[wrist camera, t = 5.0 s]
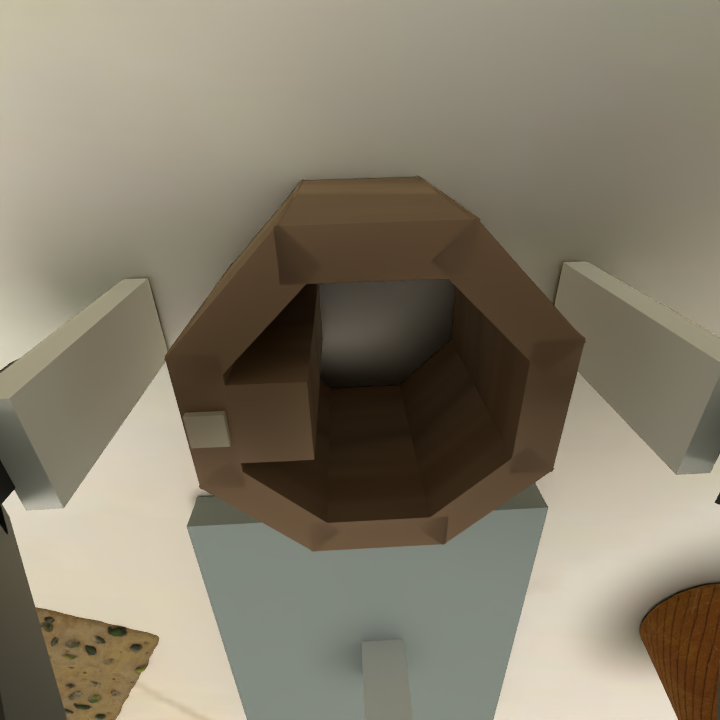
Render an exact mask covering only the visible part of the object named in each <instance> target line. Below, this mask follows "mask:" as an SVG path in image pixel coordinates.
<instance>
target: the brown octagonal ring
mask: <svg viewBox="0 0 720 720" xmlns="http://www.w3.org/2000/svg"><path fill="white" fill-rule="evenodd" d="M424 279H449V280H450V281H451V282H452V283H453V284H454V285H455V286H456V289H455V301H454V313H453V324H452V336H451V340H450V341H449V342H448V343H447V344H446V345H445V346H444V347H442V348H441V349H440V350H439V351H438V352H437V353H436V354H434V355H433V356H432V357H431V358H430V359H429V360H428V361H426V362H425V363H424V364H423V365H422V366H421V367H420V368H419V369H417V370H416V371H415V372H414V373H413V374H412V375H411V376H409V377H408V378H407V379H406V380H405V381H404V382H403V383H401V384H400V385H396V386H374V387H351V388H329V387H328V386H327V385H325V384H324V383H323V382H321V381H320V370H321V355H322V341H323V337H322V323H321V310H320V296H319V283H344V282H371V281H397V280H424ZM585 339H586V338H585V337H583V336H582V335H581V334H580V333H579V332H578V331H577V330H576V329H575V328H574V327H573V326H572V325H571V324H570V323H569V322H568V321H567V319H566V318H565V317H564V316H563V315H562V314H561V313H560V312H559V310H558V309H557V308H556V307H555V306H554V305H553V304H552V303H551V301H550V300H549V299H548V298H547V297H546V296H545V295H544V294H543V292H542V291H541V290H540V289H539V288H538V287H537V286H536V285H535V283H534V282H533V281H532V280H531V279H530V278H529V277H528V276H527V274H526V273H525V272H524V271H523V270H522V269H521V268H520V267H519V265H518V264H517V263H516V262H515V261H514V260H513V259H512V258H511V256H510V255H509V254H508V253H507V252H506V251H505V250H504V249H503V247H502V246H501V245H500V244H499V243H498V242H497V241H496V240H495V238H494V237H493V236H492V235H491V234H490V233H489V232H488V231H487V229H486V228H485V227H484V226H483V225H482V224H481V223H480V219H479V218H478V217H476V216H475V215H473V214H472V213H471V212H469V211H468V210H466V209H465V208H464V207H462V206H461V205H459V204H458V203H456V202H455V201H454V200H452V199H451V198H449V197H448V196H447V195H445V194H444V193H442V192H441V191H439V190H438V189H437V188H435V187H434V186H432V185H431V184H430V183H428V182H427V181H425V180H424V179H423V178H421V177H419V176H417V177H396V178H364V179H332V180H300V182H299V184H298V185H297V187H296V188H295V189H294V191H293V192H292V193H291V194H290V196H289V197H288V198H287V199H286V200H285V202H284V203H283V204H282V205H281V206H280V208H279V209H278V210H277V211H276V212H275V214H274V215H273V216H272V217H271V218H270V220H269V221H268V222H267V223H266V225H265V226H264V227H263V228H262V229H261V231H260V232H259V233H258V234H257V235H256V237H255V238H254V239H253V240H252V241H251V243H250V244H249V245H248V246H247V247H246V249H245V250H244V251H243V252H242V254H241V255H240V256H239V257H238V258H237V260H236V261H235V262H234V263H232V264H231V265H230V267H229V268H228V270H227V271H226V272H225V274H224V275H223V276H222V278H221V279H220V281H219V282H218V283H217V285H216V286H215V287H214V289H213V290H212V292H211V293H210V294H209V296H208V297H207V298H206V300H205V301H204V303H203V304H202V305H201V307H200V308H199V309H198V311H197V312H196V314H195V315H194V316H193V318H192V319H191V320H190V322H189V323H188V325H187V326H186V327H185V329H184V330H183V331H182V333H181V334H180V336H179V337H178V338H177V340H176V341H175V342H174V344H173V345H172V347H171V348H170V349H169V351H168V352H167V353H166V355H165V359H164V360H165V361H166V364H167V367H168V371H169V375H170V378H171V382H172V386H173V389H174V393H175V397H176V400H177V404H178V408H179V411H180V415H181V418H182V422H183V426H184V429H185V433H186V437H187V440H188V444H189V448H190V451H191V455H192V459H193V462H194V466H195V470H196V473H197V477H198V481H199V484H200V485H199V487H200V488H201V489H203V490H205V491H207V492H209V493H210V494H212V495H214V496H216V497H218V498H219V499H221V500H223V501H225V502H226V503H228V504H230V505H232V506H233V507H235V508H237V509H239V510H241V511H242V512H244V513H246V514H248V515H249V516H251V517H253V518H255V519H257V520H258V521H260V522H262V523H264V524H265V525H267V526H269V527H271V528H272V529H274V530H276V531H278V532H280V533H281V534H283V535H285V536H287V537H288V538H290V539H292V540H294V541H296V542H297V543H299V544H301V545H303V546H304V547H306V548H308V549H310V550H311V552H312V551H313V552H315V551H330V550H348V549H366V548H385V547H403V546H421V545H439V544H442V545H444V544H446V543H447V542H448V541H449V540H451V539H452V538H454V537H455V536H457V535H458V534H460V533H461V532H463V531H464V530H466V529H467V528H469V527H470V526H471V525H473V524H474V523H476V522H477V521H479V520H480V519H482V518H483V517H485V516H486V515H488V514H489V513H490V512H492V511H493V510H495V509H496V508H498V507H499V506H501V505H502V504H504V503H505V502H507V501H508V500H510V499H511V498H512V497H514V496H515V495H517V494H518V493H520V492H521V491H523V490H524V489H526V488H527V487H529V486H530V485H531V484H533V483H534V482H536V481H537V480H539V479H540V478H542V477H543V476H545V475H546V474H548V473H549V472H552V471H553V469H554V468H553V467H554V463H555V459H556V455H557V451H558V447H559V443H560V439H561V435H562V431H563V427H564V423H565V419H566V415H567V411H568V407H569V403H570V399H571V395H572V391H573V387H574V383H575V379H576V375H577V371H578V367H579V363H580V359H581V355H582V351H583V347H584V343H585V342H586V341H585Z"/></svg>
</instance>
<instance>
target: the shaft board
mask: <svg viewBox="0 0 720 720" xmlns="http://www.w3.org/2000/svg"><path fill="white" fill-rule="evenodd" d="M547 510H548V506H547V504H546V503H545V501H544V499H543V497H542V495H541V493H540V491H539V490H538V488H537V486H536V484H535V482H534V483H533V484H531V485H530V486H529V487H527V488H526V489H524V490H523V491H521V492H520V493H518V494H517V495H515V496H514V497H512V498H511V499H510V500H508V501H507V502H505V503H504V504H502V505H501V506H499V507H498V508H496V509H495V510H493V511H492V512H490V513H489V514H488V515H486V516H485V517H483V518H482V519H480V520H479V521H477V522H476V523H474V524H473V525H471V526H470V527H469V528H467V529H466V530H464V531H463V532H461V533H460V534H458V535H457V536H455V537H454V538H452V539H451V540H449V541H448V542H447V543H446V544H444V545H442V544H439V545H421V546H403V547H385V548H366V549H348V550H330V551H315V552H313V551H312V552H311V550H310V549H308V548H306V547H304V546H303V545H301V544H299V543H297V542H296V541H294V540H292V539H290V538H288V537H287V536H285V535H283V534H281V533H280V532H278V531H276V530H274V529H272V528H271V527H269V526H267V525H265V524H264V523H262V522H260V521H258V520H257V519H255V518H253V517H251V516H249V515H248V514H246V513H244V512H242V511H241V510H239V509H237V508H235V507H233V506H232V505H230V504H228V503H226V502H225V501H223V500H221V499H219V498H218V497H216V496H207V497H198V498H197V500H196V503H195V506H194V508H193V511H192V514H191V517H190V519H189V522H188V525H187V529H188V532H189V535H190V539H191V542H192V545H193V548H194V551H195V555H196V558H197V561H198V564H199V567H200V571H201V574H202V577H203V580H204V583H205V587H206V590H207V593H208V596H209V599H210V603H211V606H212V609H213V612H214V615H215V619H216V622H217V625H218V628H219V631H220V635H221V638H222V641H223V644H224V647H225V651H226V654H227V657H228V660H229V663H230V667H231V670H232V673H233V676H234V679H235V683H236V686H237V689H238V692H239V695H240V699H241V702H242V705H243V708H244V711H245V715H246V718H247V720H493V719H494V715H495V711H496V707H497V703H498V700H499V696H500V692H501V688H502V684H503V680H504V676H505V673H506V669H507V665H508V661H509V657H510V653H511V649H512V645H513V642H514V638H515V634H516V630H517V626H518V622H519V618H520V615H521V611H522V607H523V603H524V599H525V595H526V591H527V588H528V584H529V580H530V576H531V572H532V568H533V564H534V560H535V557H536V553H537V549H538V545H539V541H540V537H541V533H542V530H543V526H544V522H545V518H546V514H547Z"/></svg>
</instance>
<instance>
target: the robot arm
mask: <svg viewBox="0 0 720 720" xmlns="http://www.w3.org/2000/svg"><path fill="white" fill-rule="evenodd" d="M554 306H555V307H556V308H557V309H558V310H559V312H560V313H561V314H562V315H563V316H564V317H565V318H566V319H567V321H568V322H569V323H570V324H571V325H572V326H573V327H574V328H575V329H576V330H577V331H578V332H579V333H580V334H581V335H582V336H583V337H585V338H586V339H585V341H586V342H585V343H584V347H583V351H582V355H581V359H580V363H579V367H578V372H579V373H580V374H581V375H582V376H583V377H584V378H585V379H586V381H587V382H588V383H589V384H590V385H591V386H592V387H593V388H594V389H595V390H596V391H597V392H598V393H599V394H600V395H601V396H602V397H603V398H604V399H605V400H606V402H607V403H608V404H609V405H610V406H611V407H612V408H613V409H614V410H615V411H616V412H617V413H618V414H619V415H620V416H621V417H622V418H623V419H624V420H625V421H626V422H627V424H628V425H629V426H630V427H631V428H632V429H633V430H634V431H635V432H636V433H637V434H638V435H639V436H640V437H641V438H642V439H643V440H644V441H645V442H646V443H647V445H648V446H649V447H650V448H651V449H652V450H653V451H654V452H655V453H656V454H657V455H658V456H659V457H660V458H661V459H662V460H663V461H664V462H665V463H666V464H667V466H668V467H669V468H670V469H671V470H672V471H673V472H674V473H675V474H676V475H679V474H697V473H710V472H711V470H712V468H713V466H714V464H715V462H716V460H717V458H718V456H719V454H720V338H719V337H718V336H716V335H714V334H712V333H711V332H709V331H707V330H705V329H704V328H702V327H700V326H698V325H697V324H695V323H693V322H692V321H690V320H688V319H686V318H685V317H683V316H681V315H679V314H678V313H676V312H674V311H672V310H671V309H669V308H667V307H665V306H664V305H662V304H660V303H658V302H657V301H655V300H653V299H651V298H650V297H648V296H646V295H645V294H643V293H641V292H639V291H638V290H636V289H634V288H632V287H631V286H629V285H627V284H625V283H624V282H622V281H620V280H618V279H617V278H615V277H613V276H611V275H610V274H608V273H606V272H604V271H603V270H601V269H599V268H598V267H596V266H594V265H592V264H591V263H589V262H587V261H583V262H563V266H562V271H561V276H560V281H559V286H558V290H557V295H556V300H555V305H554ZM167 352H168V351H167V347H166V344H165V340H164V336H163V333H162V329H161V325H160V321H159V318H158V314H157V310H156V307H155V303H154V299H153V295H152V292H151V288H150V284H149V281H148V278H144V279H123V280H121V281H120V282H119V283H117V284H116V285H115V286H113V287H112V288H111V289H110V290H108V291H107V292H106V293H104V294H103V295H102V296H100V297H99V298H98V299H96V300H95V301H94V302H93V303H91V304H90V305H89V306H87V307H86V308H85V309H83V310H82V311H81V312H80V313H78V314H77V315H76V316H74V317H73V318H72V319H70V320H69V321H68V322H66V323H65V324H64V325H63V326H61V327H60V328H59V329H57V330H56V331H55V332H53V333H52V334H51V335H50V336H48V337H47V338H46V339H44V340H43V341H42V342H40V343H39V344H38V345H36V346H35V347H34V348H33V349H31V350H30V351H29V352H27V353H26V354H25V355H23V356H22V357H21V358H19V359H17V360H15V361H13V362H11V363H9V364H8V365H7V366H6V367H4V368H3V369H2V370H0V720H67V717H66V714H65V710H64V707H63V703H62V700H61V696H60V693H59V689H58V686H57V682H56V679H55V675H54V672H53V668H52V665H51V661H50V658H49V654H48V651H47V647H46V644H45V640H44V637H43V633H42V630H41V626H40V623H39V619H38V616H37V612H36V609H35V605H34V602H33V598H32V595H31V591H30V588H29V584H28V581H27V577H26V574H25V570H24V567H23V563H22V559H21V556H20V552H19V549H18V545H17V542H16V538H15V535H14V531H13V528H12V524H11V521H10V517H9V515H8V514H7V512H6V510H5V509H4V507H3V505H2V503H3V502H4V501H5V499H6V498H7V497H8V496H9V495H10V494H11V492H12V491H13V490H15V491H16V493H17V495H18V497H19V499H20V500H21V502H22V504H23V506H24V508H25V509H26V510H41V509H60V508H64V507H65V506H66V504H67V503H68V501H69V500H70V498H71V497H72V495H73V494H74V493H75V491H76V490H77V488H78V487H79V485H80V484H81V482H82V481H83V480H84V478H85V477H86V475H87V474H88V472H89V471H90V469H91V468H92V467H93V465H94V464H95V462H96V461H97V459H98V458H99V457H100V455H101V454H102V452H103V451H104V449H105V448H106V446H107V445H108V444H109V442H110V441H111V439H112V438H113V436H114V435H115V433H116V432H117V431H118V429H119V428H120V426H121V425H122V423H123V422H124V420H125V419H126V418H127V416H128V415H129V413H130V412H131V410H132V409H133V407H134V406H135V405H136V403H137V402H138V400H139V399H140V397H141V396H142V394H143V393H144V392H145V390H146V389H147V387H148V386H149V384H150V383H151V381H152V380H153V379H154V377H155V376H156V374H157V373H158V371H159V370H160V368H161V367H162V366H163V364H164V363H165V360H164V359H165V355H166V353H167ZM715 503H717V504H720V493H719V495H718V497H717V499H716V501H715ZM717 720H720V661H719V682H718V704H717Z"/></svg>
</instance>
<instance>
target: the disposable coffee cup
mask: <svg viewBox="0 0 720 720" xmlns="http://www.w3.org/2000/svg"><path fill="white" fill-rule="evenodd" d="M640 636H641V639H642V641H643V643H644V645H645V647H646V649H647V651H648V654H649V656H650V658H651V660H652V663H653V665H654V667H655V669H656V671H657V673H658V676H659V678H660V680H661V682H662V684H663V687H664V689H665V691H666V694H667V696H668V698H669V700H670V702H671V704H672V707H673V709H674V711H675V713H676V716H677V718H678V720H717V704H718V682H719V661H720V584H711V585H704V586H700V587H696V588H693V589H690V590H687V591H684V592H681V593H679V594H676V595H674V596H673V597H671V598H669V599H667V600H666V601H664V602H662V603H661V604H659V605H658V606H657V607H655V608H654V609H653V610H652V611H651V612H650V613H649V614H648V615H647V616H646V618H645V619H644V621H643V622H642V625H641V627H640Z"/></svg>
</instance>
